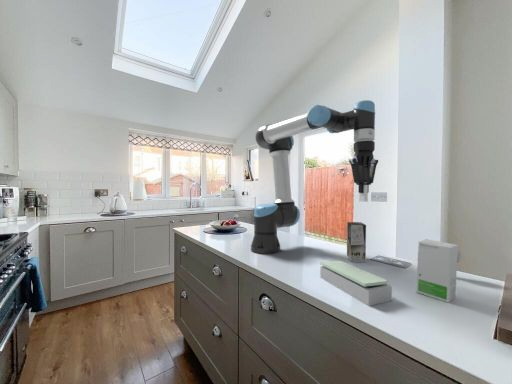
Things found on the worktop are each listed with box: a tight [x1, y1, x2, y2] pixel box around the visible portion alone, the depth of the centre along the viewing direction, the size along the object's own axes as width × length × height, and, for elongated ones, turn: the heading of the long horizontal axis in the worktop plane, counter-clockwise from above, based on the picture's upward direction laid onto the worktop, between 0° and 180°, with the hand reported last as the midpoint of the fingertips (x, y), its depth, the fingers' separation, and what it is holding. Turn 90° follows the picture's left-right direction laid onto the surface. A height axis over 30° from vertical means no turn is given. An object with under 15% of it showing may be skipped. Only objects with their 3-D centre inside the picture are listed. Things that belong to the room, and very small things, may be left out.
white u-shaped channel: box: [319, 265, 393, 306], centre depth 74 cm, size 21×8×4 cm, turn 20°
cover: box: [319, 260, 389, 287], centre depth 74 cm, size 20×9×1 cm, turn 20°
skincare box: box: [415, 238, 459, 304], centre depth 69 cm, size 8×7×16 cm
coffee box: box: [346, 221, 367, 263], centre depth 104 cm, size 9×6×16 cm
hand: (363, 201), depth 93 cm, fingers closed
